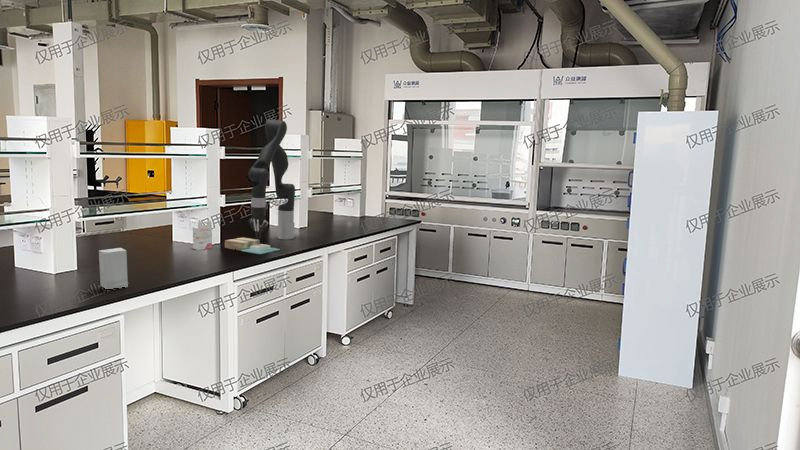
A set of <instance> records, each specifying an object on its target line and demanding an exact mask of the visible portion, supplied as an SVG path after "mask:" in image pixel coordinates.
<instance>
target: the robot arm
mask: <svg viewBox="0 0 800 450" xmlns="http://www.w3.org/2000/svg"><path fill="white" fill-rule="evenodd" d="M287 130H288V124H287V123H286V121H285V120H282V119H281V120H280V119H270V118H269V119H266V121H265V123H264V132H265V135H266V139H267V142H268V143H267V144H266V145H265V146H263V147H262V149H261V151H260V152H259V155H258V156H257V160H256V161H255V162H254V164H253V165H252V166H251V167H250V168H249V170H248V179H249V180H250V181H251V182H259V184H258V185H255V186H252V188H251V203H250V205H251V206H250V210H251V211H250V214H251V218H250V219H248V220H247V222H248V224H249V225H250V227H251V229H252V230H253V231H255V234H254V235H255V236H254V237H255V239H257V240H260V239H261V238H262V232H263V231H265V230H266V228H267V226H268V225H269V224H270V222H269V221H267V220H266V214H267V210H266V209H267V207H266V206H267V200H266V189H267V186H268V183H269V182H268V181H269V178H270V172H269V170H268V169H267V168H269V167H270V166H271V165H272V171H273V175H274V185H275V186H274V187H275V188H274V189H275V194H276V197H277V198H278V199H282V200H287V201H286V202H285V203H282V204H279V205H278V206H277V208H278V209H277V213H278V214H277V239H279V240H292V239H294V238H295V222H294V219H295V218H294V217H295V216H294V215H295V213H294V212H295V197H296V186H295V185H294V184H293V183H283V181H282V179H283V177H284V175H285V174H286V172H287V170H288V169H289V160H288V154H287V152H286V151H285V149H284V148H283V147H282V146H281V143H282V141H284V138H285V136H286V134H287V132H288V131H287Z"/></svg>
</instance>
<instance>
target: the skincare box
mask: <svg viewBox="0 0 800 450" xmlns="http://www.w3.org/2000/svg"><path fill="white" fill-rule="evenodd" d="M127 254H128V253H127V250H126V249H124V248H122V247H115V248H108V249H100V250H98V261H99V276H100V277H99V278H100V279H99V280H100V282H99V283H100V287H101V286H102V287H104V288H105V289H113V288H119V289H123V288H122V287H125V288H128V287H129V283H128V282H129V281H128V280H129V279H128V256H127ZM113 290H114V289H113Z"/></svg>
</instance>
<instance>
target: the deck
mask: <svg viewBox="0 0 800 450" xmlns="http://www.w3.org/2000/svg"><path fill="white" fill-rule="evenodd" d="M258 244H261V240H260V239H258V238H250V237H244V236H243V237H237V238H233V239H226V240H224V248H225V249H229V250H235V249H236V250H235V251H241V250H244V249H249V248H250V246H253V245H258Z"/></svg>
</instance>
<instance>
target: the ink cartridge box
mask: <svg viewBox="0 0 800 450" xmlns="http://www.w3.org/2000/svg"><path fill="white" fill-rule="evenodd" d="M212 229H213V227H212V221H210V220H208V221H198V222H197V226H192V250H193V249H194V250H197V251H202V250H209V249H212V248H213V232H212V231H213V230H212Z"/></svg>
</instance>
